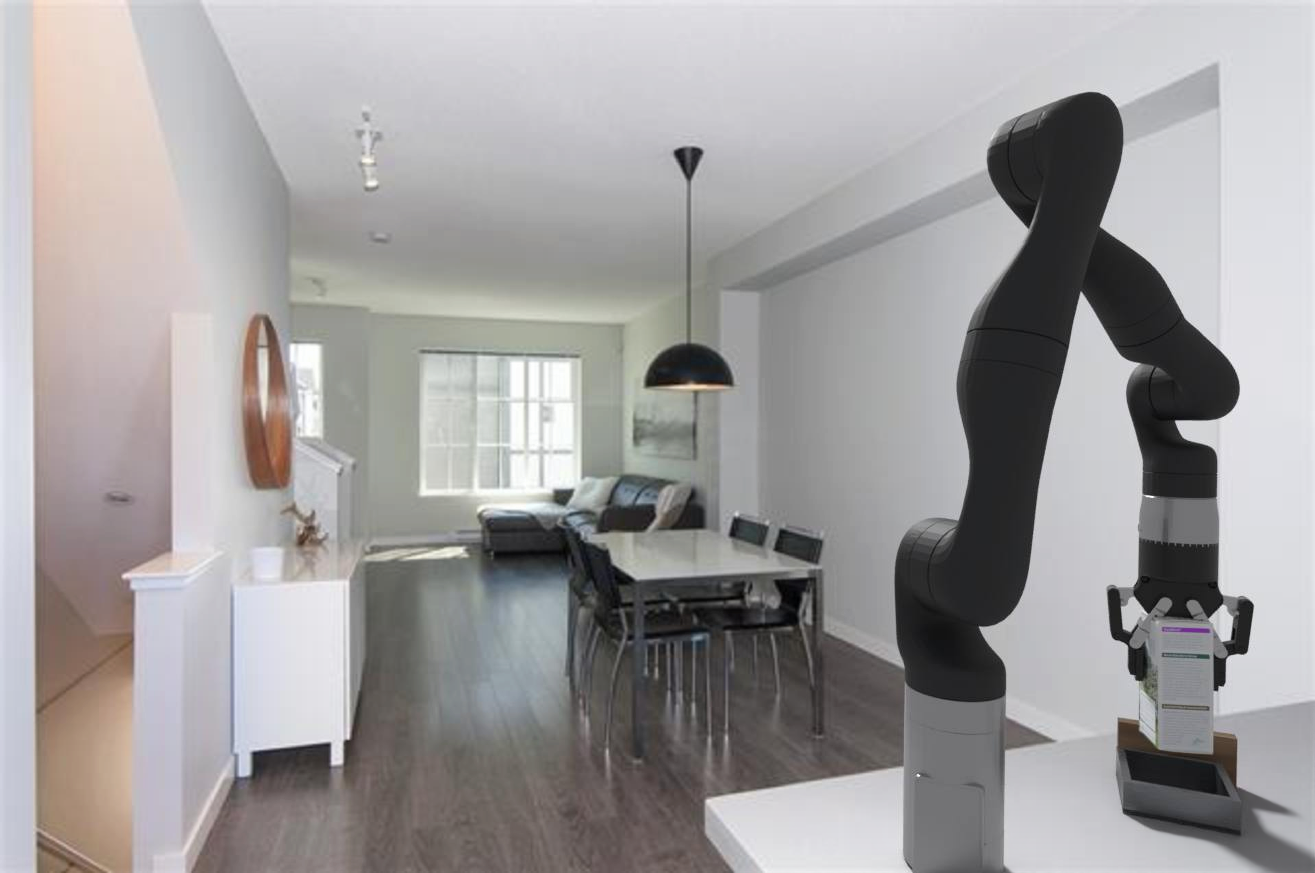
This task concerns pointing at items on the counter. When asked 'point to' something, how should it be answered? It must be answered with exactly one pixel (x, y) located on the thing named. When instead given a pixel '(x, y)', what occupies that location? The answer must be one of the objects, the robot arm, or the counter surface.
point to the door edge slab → (1221, 752)
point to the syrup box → (1178, 685)
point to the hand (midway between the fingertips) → (1175, 683)
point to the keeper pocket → (1177, 790)
